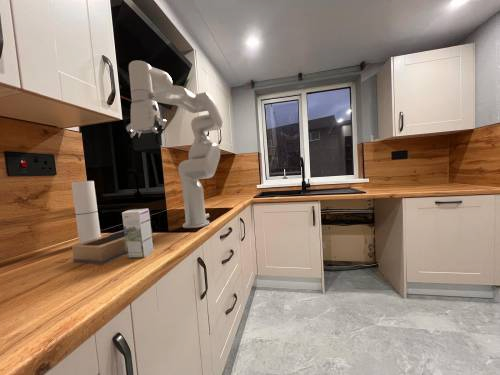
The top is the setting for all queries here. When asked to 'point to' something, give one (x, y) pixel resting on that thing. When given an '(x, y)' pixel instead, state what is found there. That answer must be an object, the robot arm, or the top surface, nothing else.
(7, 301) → the top surface
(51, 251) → the top surface
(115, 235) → the shallow storage tray
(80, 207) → the cylindrical container
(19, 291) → the top surface
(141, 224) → the syrup box
